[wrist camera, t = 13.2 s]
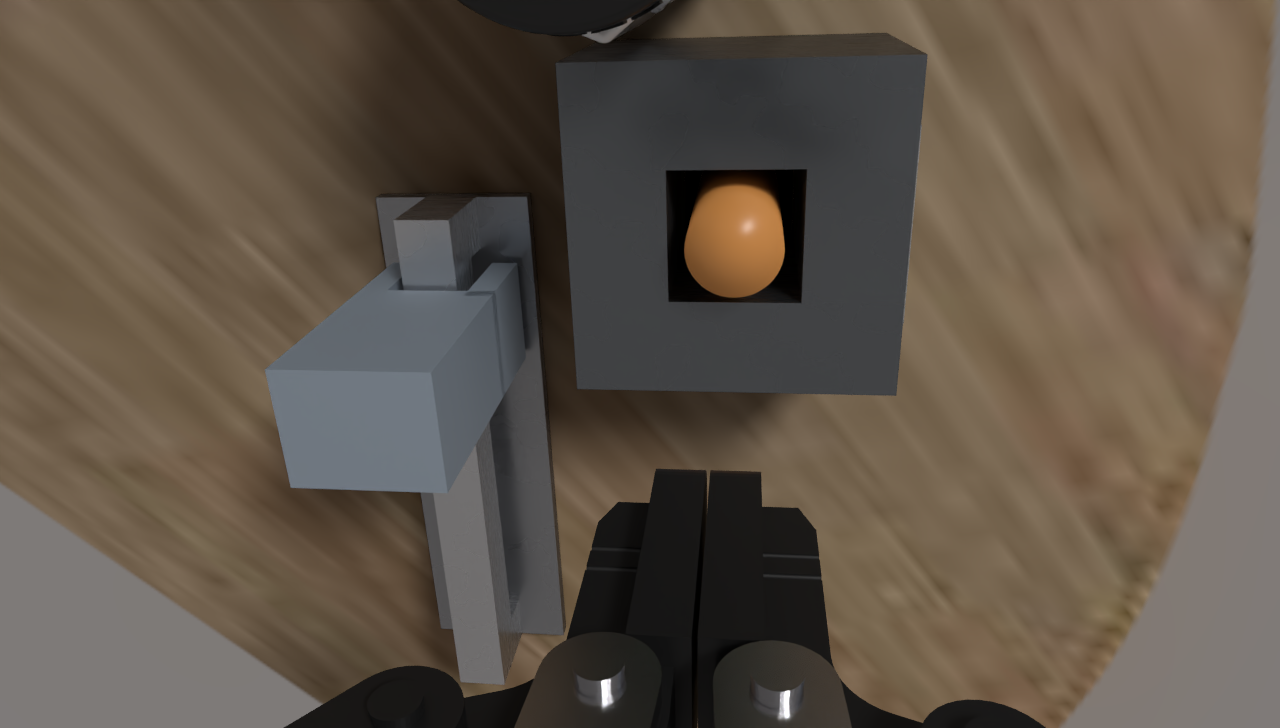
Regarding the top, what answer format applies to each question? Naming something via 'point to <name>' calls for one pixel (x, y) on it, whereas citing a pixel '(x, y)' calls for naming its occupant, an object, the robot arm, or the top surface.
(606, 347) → the block with square hole
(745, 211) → the orange peg
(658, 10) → the jar
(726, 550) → the robot arm
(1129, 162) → the top surface
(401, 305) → the block
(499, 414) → the rail
